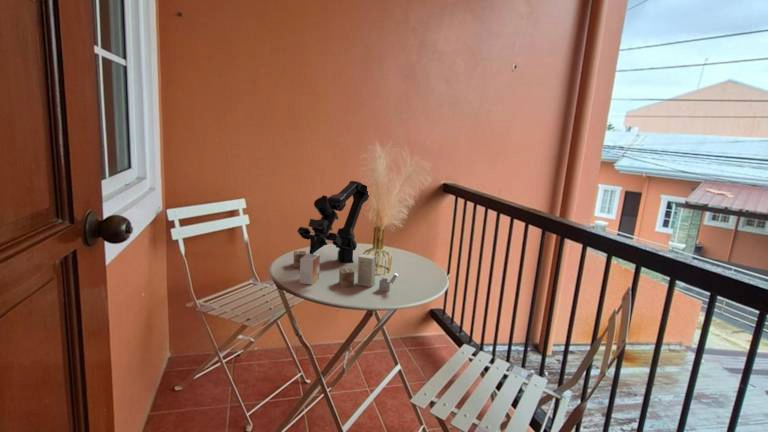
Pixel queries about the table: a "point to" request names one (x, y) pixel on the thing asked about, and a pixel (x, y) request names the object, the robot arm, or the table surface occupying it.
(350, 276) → the walnut block one
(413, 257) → the table surface
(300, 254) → the walnut block seven
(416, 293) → the table surface
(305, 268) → the small box
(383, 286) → the lighter
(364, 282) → the skincare box
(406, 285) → the table surface
